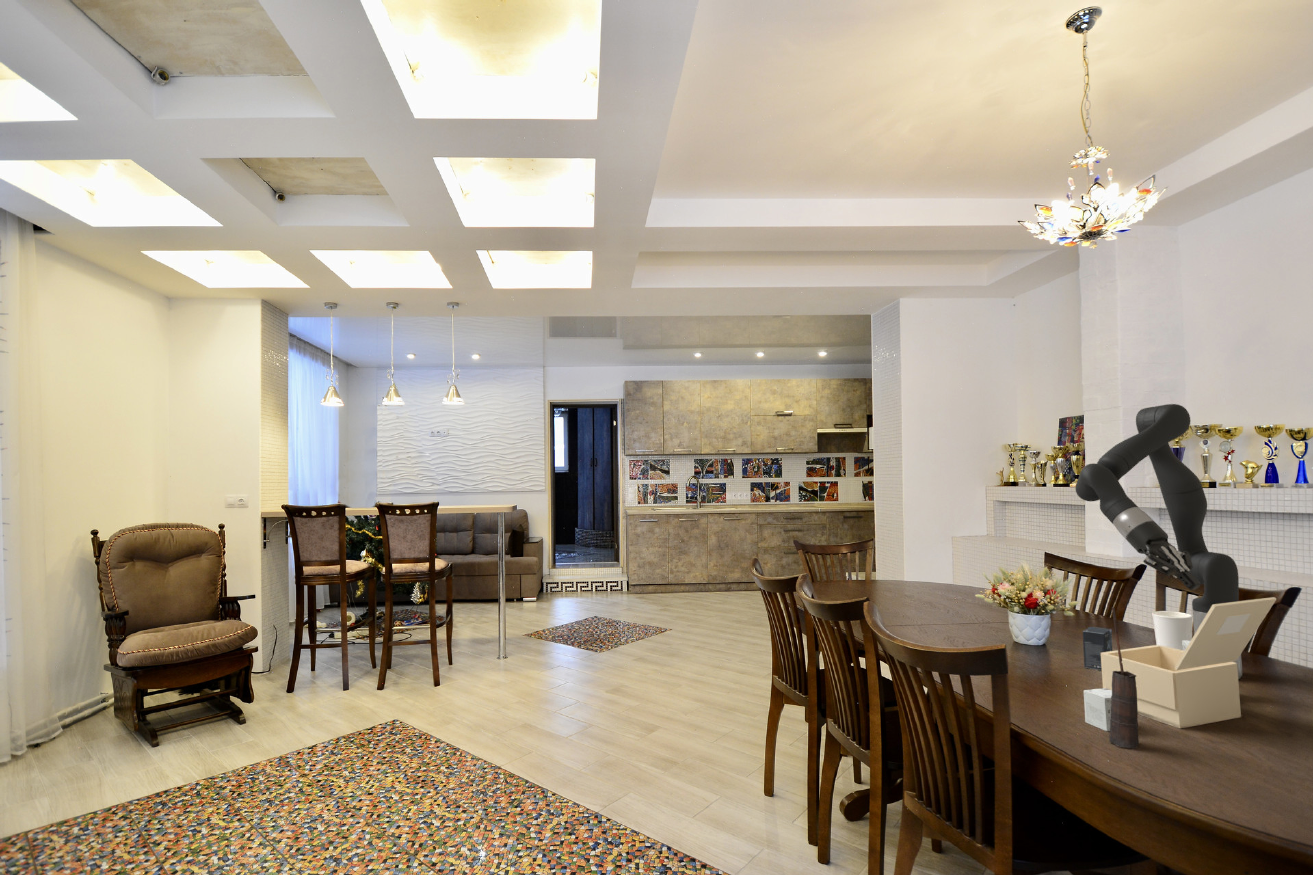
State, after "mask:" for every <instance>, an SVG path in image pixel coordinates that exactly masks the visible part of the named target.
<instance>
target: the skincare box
mask: <svg viewBox="0 0 1313 875" xmlns="http://www.w3.org/2000/svg"><path fill="white" fill-rule="evenodd" d="M1111 696H1112V690H1110V689H1107V688H1103V687H1102V688H1093V689H1084V690H1083V701H1084V702H1083V703H1084V722H1085V723H1087V724H1088V725H1091V726H1092V727H1096V728H1098V729H1100V730H1102V731H1104V732H1110V718H1111V700H1112V699H1111Z"/></svg>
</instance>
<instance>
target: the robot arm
mask: <svg viewBox="0 0 1313 875" xmlns="http://www.w3.org/2000/svg"><path fill="white" fill-rule="evenodd" d="M1189 413H1190V412H1189V411H1188V410H1187V409H1186V407H1185V406H1183V405H1180V404H1177V403H1170V404H1169V403H1168V404H1162V405H1156V406H1149V407H1144V408H1141V409H1140V410H1139V411H1138V412H1137V414H1136V417H1135V425H1136V430H1137V432H1138V433H1137V434H1134V435H1133V436H1130V437H1128V438H1126V439H1124V440H1122V441H1121V442H1119V443H1117V444H1115V445H1114V446H1112V447H1111V448H1110V449H1109V450H1107V451H1106V452H1105V453H1104V454H1103V455H1102V456H1101V457H1100V458H1099V459H1098V460H1097V462H1096V463H1093V462H1092V463H1089V464H1086V465H1085V466H1084V467H1083V468H1082V469H1081V470H1080V473H1079V475H1078V478H1077V481H1076V483H1075V493H1076V495H1077V496H1078V497H1079V498H1080V499H1082V500H1083V501H1084V502H1085V501H1086V502H1097V501H1099V509H1100V511H1101V513H1102V514H1103V515H1104V516H1105V517H1106V519H1108V520H1109V521H1110V523H1111V524H1112V525H1113V526H1114V527H1115V528H1116V530H1117V532H1118V533H1119V534H1120V535H1121V536H1122V537H1123V538H1124V539H1125V540H1126V542H1128V543H1129V544H1130V546H1131V547H1133V548H1134V550H1135V551H1136V552H1137V553H1139V554H1141V555H1144V556H1146V558H1144V559H1143V560H1142V562H1143V563H1144V564H1146V565H1147V566H1149V567H1151V568H1153V569H1154V570H1157V571H1158V572H1160V573H1162V574H1163V575H1165V576H1167V577H1170V576H1173V578H1175V579H1178V580H1179V581H1180V582H1181V583H1182V584H1183V586H1185V587H1186V588H1187V589H1188V590H1189V591H1194V590H1195V591H1196V590H1197V589H1198V588H1199V587H1201V585H1203V586H1204V592H1203V595H1202V596H1199V597H1195V598H1193V599H1192V601H1191V602H1192V603H1191V608H1192V624H1193V631H1194V632H1193V633H1194V634H1195V633H1196V631H1197V630H1198V628H1199V626H1200V625H1201V623H1202V621H1203V620H1204V618H1205V616H1206V615H1207V613H1208V611H1209V610H1210V608H1211V606H1212V605H1213V604H1221V603H1229V602H1238V601H1239V597H1240V592H1239V591H1240V590H1239V588H1240V587H1239V584H1240V583H1239V580H1240V579H1239V570H1238V569H1239V568H1238V566H1237V563H1236V561H1235V560H1234V559H1233V558H1232V557H1231V556H1230V555H1229V554H1225V553H1221V552H1214V551H1209V550H1208V548H1207V545H1206V542H1205V539H1204V537H1203V525H1204V521H1205V518H1206V515H1207V511H1208V501H1207V497H1206V494H1205V491H1204V487H1203V484H1202V482H1201V480H1200V478H1198V476H1197V475H1196V474H1195V473H1194V472H1193V470H1191V469H1190V468H1189V467H1188V466H1187V465H1185V463H1184V462H1182V461H1181V460H1180V459H1179V458H1178V457H1177V456H1176V454H1175V453H1174V452H1173V451H1172V448H1171V446H1170V444H1169V443H1170V442H1172V441H1174V440H1175V439H1178V438H1179V437H1181V436H1183V435H1184V434H1186V432H1187V431H1188V430H1189V429H1190V427H1191V416H1190V414H1189ZM1148 457H1149V460H1150V462H1151V464H1152V467H1153V470H1154V472H1155V476H1156V478H1157V482H1158V484H1159V488H1160V492H1161V496H1162V499H1163V502H1164V505H1165V508H1166V510H1167V513H1168V516H1169V519H1170V522H1171V525H1172V529H1173V533H1174V535H1175V536H1174V537H1175V541H1176V545H1177V546H1176V547H1177V548H1176V547H1175V546H1174V545H1173V544H1171V543H1170V542H1169V535H1168V533H1167V532H1166V531H1165V530H1164V529H1163V528H1162V527H1160V525H1159V524H1158V523H1157V522H1156V521H1155V520H1154V519H1153V518H1152V517H1151V516H1150V515H1149V514H1148V513H1146V512H1145V511H1143V510H1142V508H1140V507H1139V506H1138V505H1137V504H1136V503H1135V502H1134V501H1133V500H1132V499H1131V498H1130V497H1129V496H1128V495H1127V494H1126V491H1125V489H1124V488H1123V486H1122V485H1121V483H1120V480H1121V479H1122V478H1123V477H1124V476H1125V475H1127V474H1128V473H1129V472H1130V471H1131V470H1132V469H1133V468H1134V467H1136V466H1137V465H1138V464H1139V463H1140V462H1142V461H1143V460H1145V459H1146V458H1148ZM1194 634H1193V635H1194ZM1233 662H1235V663H1237V670H1238V680H1239V679H1241V677H1243V664H1242V663H1243V662H1242V653H1241V654H1240V656H1239V658H1238V659H1237V661H1233Z"/></svg>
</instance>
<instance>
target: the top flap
mask: <svg viewBox="0 0 1313 875" xmlns="http://www.w3.org/2000/svg"><path fill="white" fill-rule="evenodd" d="M1276 601H1277V598H1276V597H1274V596H1272V597H1265V598H1255V599H1246V600H1238V602H1229V603H1221V604H1213V605H1212V606H1211V608H1210V610H1209V611H1208V613H1207V615H1206V616H1205V618H1204V620H1203V621H1202V623H1201V625H1200V626H1199V628H1198V630H1197V631H1196V633H1195V634H1193V635H1192V639H1191V641H1190V643H1189V644H1188V646H1187V648H1186V649H1185V651H1184V653H1183V654H1182V656H1181V658H1180V659H1179V661H1178V663H1177V664H1176V666H1175V668H1174V669H1176V670H1182V669H1188V668H1194V667H1201V666H1207V665H1214V664H1220V663H1227V662H1233V661H1237V659H1238V658H1239V656H1240V654H1241V655H1242V653H1243V651H1244V650H1245V648H1246V647H1247V645H1248V643H1249V642H1250V641H1251V639H1252V637H1253V636H1254V635H1255V633H1256V632H1257V630H1258V628H1259V627H1260V625H1261V624H1262V623H1263V621H1264V619H1265V618H1266V616H1267V614H1268V613H1269V612H1270V610H1271V608H1272V607H1273V605H1274V604H1275V603H1276Z"/></svg>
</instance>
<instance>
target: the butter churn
mask: <svg viewBox="0 0 1313 875" xmlns="http://www.w3.org/2000/svg"><path fill="white" fill-rule="evenodd" d="M1111 612H1112V620H1113V625H1114V632H1115V639H1116V648H1117V650H1118V655H1119V663H1120V669H1121V671H1113V675H1112V696H1111V699H1112V700H1111V718H1110V731H1109V738H1108V739H1109V743H1110V744H1113V745H1115V746H1117V747H1120V748H1124V749H1137V747H1139V745H1140V744H1139V741H1140V740H1139V738H1140V737H1139V721H1138V720H1139V719H1138V715H1139V714H1138V709H1137V708H1138V707H1137V687H1136V680H1135V679H1136V678H1135V677H1136V675H1134V674H1132V673H1130V672H1128V671H1124V670H1123V664H1122V657H1121V651H1120V650H1121V644H1120V639H1119V638H1120V637H1119V636H1120V635H1119V630H1118V624H1117V616H1116V609H1115V607H1114V606H1112V607H1111Z"/></svg>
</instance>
